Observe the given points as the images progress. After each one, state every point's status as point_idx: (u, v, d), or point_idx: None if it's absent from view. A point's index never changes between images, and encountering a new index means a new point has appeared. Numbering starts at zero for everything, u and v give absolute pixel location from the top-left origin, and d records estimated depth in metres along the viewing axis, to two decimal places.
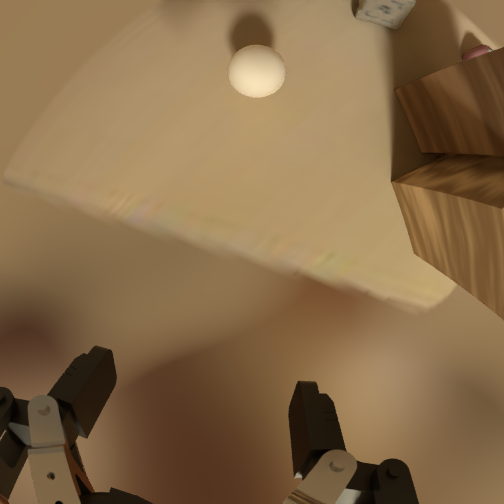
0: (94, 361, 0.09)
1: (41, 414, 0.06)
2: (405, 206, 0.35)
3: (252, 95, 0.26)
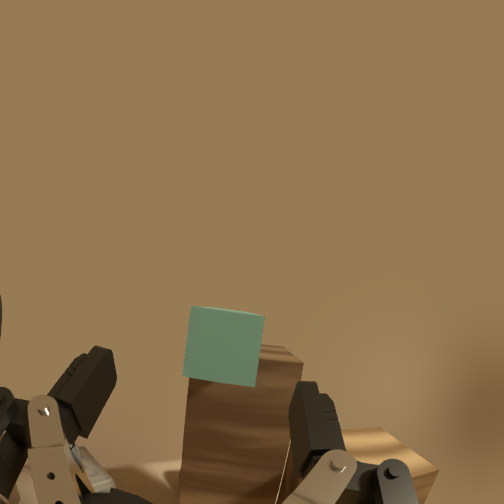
0: (94, 361, 0.09)
1: (41, 414, 0.06)
2: None
3: None
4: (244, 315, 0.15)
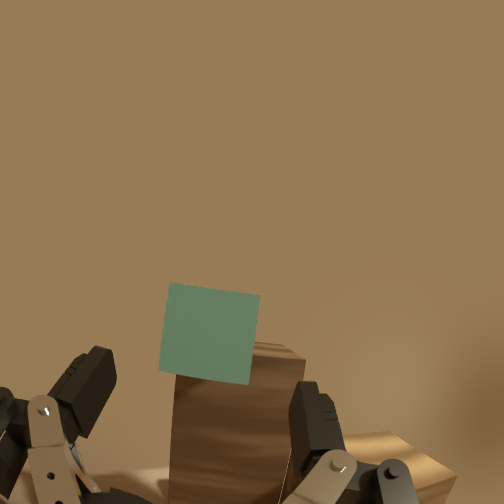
0: (94, 361, 0.09)
1: (41, 414, 0.06)
2: None
3: None
4: (234, 294, 0.12)
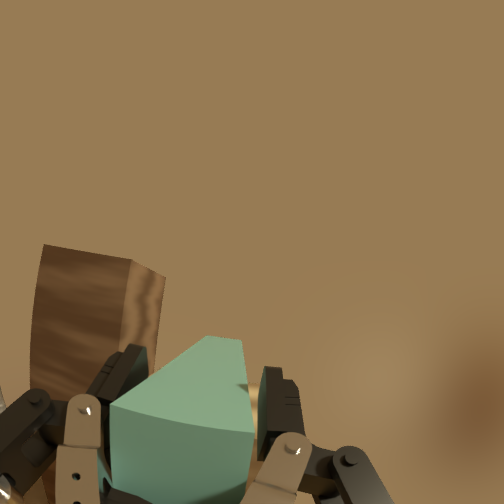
0: (131, 358, 0.10)
1: (83, 414, 0.07)
2: None
3: None
4: (213, 430, 0.06)
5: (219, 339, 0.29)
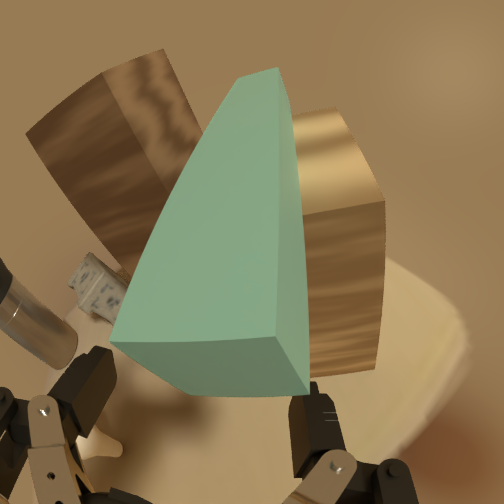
0: (94, 361, 0.09)
1: (41, 414, 0.06)
2: None
3: (83, 453, 0.20)
4: (220, 341, 0.05)
5: (252, 78, 0.22)
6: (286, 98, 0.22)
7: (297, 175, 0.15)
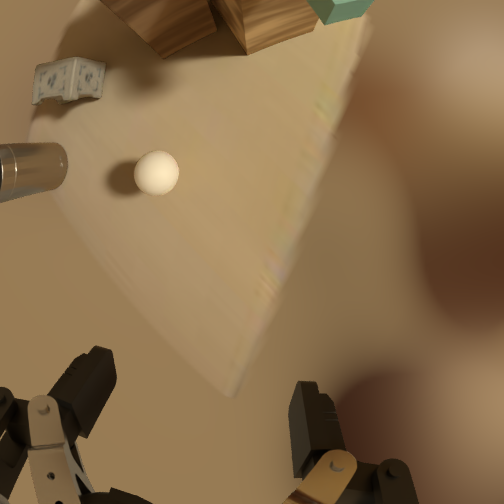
0: (94, 361, 0.09)
1: (41, 414, 0.06)
2: (267, 42, 0.35)
3: (176, 175, 0.35)
4: None
5: None
6: None
7: None
